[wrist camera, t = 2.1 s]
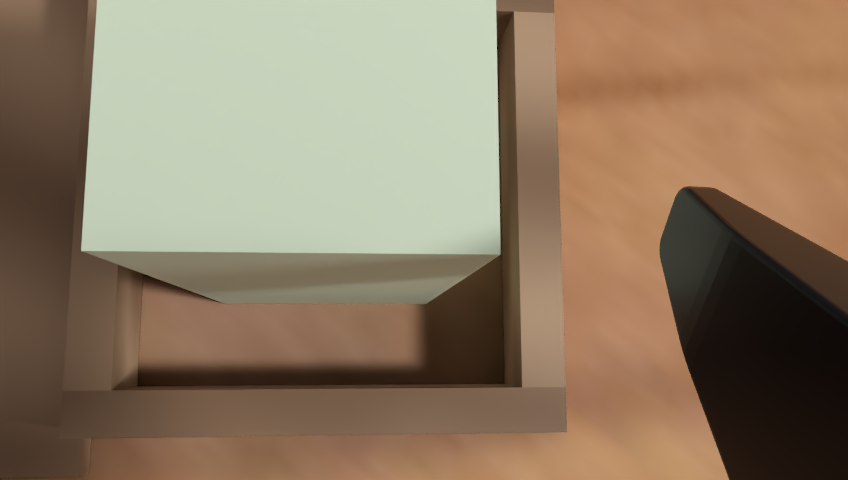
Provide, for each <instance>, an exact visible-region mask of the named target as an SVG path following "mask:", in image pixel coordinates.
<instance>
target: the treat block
mask: <svg viewBox="0 0 848 480" xmlns="http://www.w3.org/2000/svg"><path fill="white" fill-rule="evenodd" d="M81 251H83V252H85V253H88V254H91V255H93V256H96V257H99V258H102V259H104V260H107V261H110V262H113V263H115V264H118V265H121V266H123V267H126V268H129V269H132V270H134V271H137V272H140V273H143V274H145V275H148V276H151V277H153V278H156V279H159V280H162V281H164V282H167V283H170V284H173V285H175V286H178V287H181V288H183V289H186V290H189V291H192V292H194V293H197V294H200V295H202V296H205V297H208V298H211V299H213V300H216V301H219V302H222V303H224V304H427V303H428V302H430V301H431V300H433V299H434V298H436V297H437V296H439V295H440V294H442V293H443V292H445V291H446V290H448V289H449V288H451V287H452V286H454V285H455V284H457V283H458V282H460V281H461V280H463V279H464V278H466V277H468V276H469V275H471V274H472V273H474V272H475V271H477V270H478V269H480V268H481V267H483V266H484V265H486V264H487V263H489V262H490V261H492V260H493V259H495V258H496V257H498V256H499V255H501V245H500V189H499V134H498V78H497V22H496V0H97V10H96V25H95V41H94V57H93V72H92V88H91V103H90V119H89V135H88V150H87V166H86V181H85V197H84V213H83V228H82V244H81Z"/></svg>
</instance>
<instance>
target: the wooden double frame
mask: <svg viewBox="0 0 848 480" xmlns="http://www.w3.org/2000/svg"><path fill="white" fill-rule="evenodd" d="M96 10H97V0H0V478H49V477H81V476H83V475H85V474H88V473H89V466H90V450H91V438H166V437H242V436H319V435H396V434H472V433H549V432H567V420H566V387H565V354H564V321H563V288H562V255H561V222H560V189H559V156H558V123H557V90H556V57H555V24H554V0H496V22H497V45H498V46H499V100H500V153H501V207H502V261H503V315H504V369H505V384H405V385H263V386H137V381H138V361H139V342H140V323H141V304H142V285H143V273H140V272H137V271H134V270H132V269H129V268H126V267H123V266H121V265H118V264H115V263H113V262H110V261H107V260H104V259H102V258H99V257H96V256H93V255H91V254H88V253H85V252H83V251H81V244H82V228H83V213H84V197H85V181H86V166H87V150H88V135H89V119H90V103H91V88H92V72H93V57H94V41H95V25H96Z"/></svg>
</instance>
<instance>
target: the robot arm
mask: <svg viewBox="0 0 848 480" xmlns="http://www.w3.org/2000/svg"><path fill="white" fill-rule="evenodd" d="M660 259H661V263H662V267H663V272H664V276H665V280H666V284H667V289H668V293H669V297H670V301H671V306H672V310H673V314H674V318H675V323H676V327H677V331H678V335H679V339H680V343H681V347H682V350H683V354H684V357H685V360H686V363H687V366H688V369H689V372H690V374H691V377H692V380H693V383H694V385H695V388H696V391H697V393H698V396H699V399H700V402H701V404H702V407H703V410H704V412H705V415H706V418H707V421H708V423H709V426H710V429H711V431H712V434H713V437H714V440H715V442H716V445H717V448H718V450H719V453H720V456H721V459H722V461H723V464H724V467H725V469H726V472H727V475H728V478H729V480H848V261H846V260H844V259H842V258H841V257H839V256H837V255H835V254H833V253H832V252H830V251H828V250H826V249H824V248H823V247H821V246H819V245H817V244H815V243H813V242H812V241H810V240H808V239H806V238H804V237H803V236H801V235H799V234H797V233H795V232H794V231H792V230H790V229H788V228H786V227H784V226H783V225H781V224H779V223H777V222H775V221H774V220H772V219H770V218H768V217H766V216H765V215H763V214H761V213H759V212H757V211H755V210H754V209H752V208H750V207H748V206H746V205H745V204H743V203H741V202H739V201H737V200H736V199H734V198H732V197H730V196H728V195H726V194H725V193H723V192H721V191H719V190H717V189H715V188H710V187H692V186H688V187H684V188H682V189H681V190H679V192H678V193H677V195H676V197H675V199H674V202H673V205H672V208H671V211H670V214H669V217H668V220H667V223H666V226H665V229H664V231H663V234H662V238H661V242H660Z"/></svg>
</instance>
